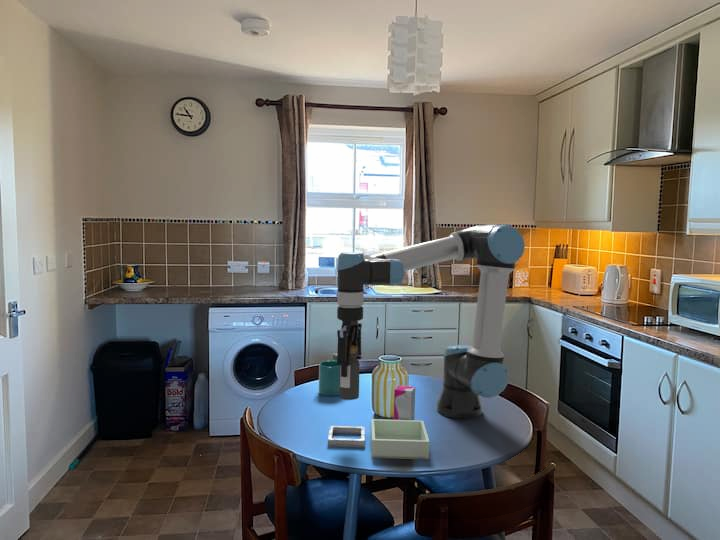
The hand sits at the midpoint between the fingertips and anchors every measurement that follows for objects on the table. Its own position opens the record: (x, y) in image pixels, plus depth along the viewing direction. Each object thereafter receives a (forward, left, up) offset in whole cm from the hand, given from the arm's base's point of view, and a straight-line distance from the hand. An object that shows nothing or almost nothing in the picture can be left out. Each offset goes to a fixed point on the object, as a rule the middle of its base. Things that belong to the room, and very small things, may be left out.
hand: (349, 383), depth 155 cm
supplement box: (-18, -15, -17) cm, 29 cm away
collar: (0, 0, -17) cm, 17 cm away
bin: (-15, +4, -17) cm, 23 cm away
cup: (+6, -43, -17) cm, 47 cm away
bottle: (0, 0, -4) cm, 4 cm away
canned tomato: (+4, -60, -17) cm, 62 cm away
